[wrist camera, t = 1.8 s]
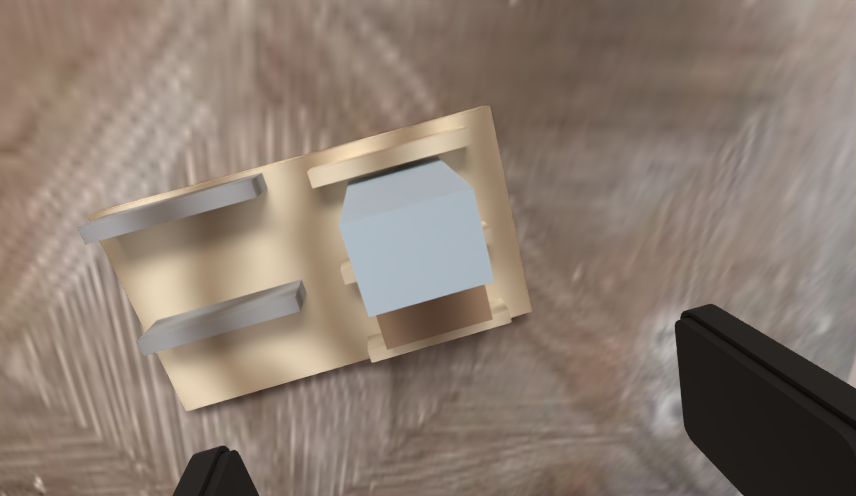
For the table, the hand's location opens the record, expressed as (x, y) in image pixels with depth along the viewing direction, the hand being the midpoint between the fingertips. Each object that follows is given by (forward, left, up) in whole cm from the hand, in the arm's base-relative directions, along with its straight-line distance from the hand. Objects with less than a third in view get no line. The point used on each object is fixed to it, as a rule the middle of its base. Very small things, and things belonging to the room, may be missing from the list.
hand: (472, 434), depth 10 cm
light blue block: (0, 0, -23) cm, 23 cm away
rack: (+6, +3, -25) cm, 25 cm away
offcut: (0, +7, -23) cm, 24 cm away
